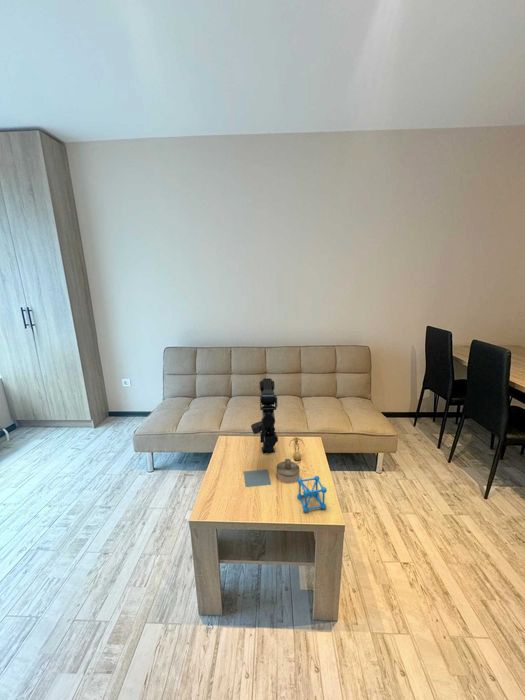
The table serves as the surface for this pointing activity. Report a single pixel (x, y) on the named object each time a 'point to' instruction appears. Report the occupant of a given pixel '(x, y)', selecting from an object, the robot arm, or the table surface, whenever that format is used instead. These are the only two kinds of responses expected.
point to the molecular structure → (311, 493)
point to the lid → (287, 468)
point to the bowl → (288, 478)
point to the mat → (257, 478)
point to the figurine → (296, 454)
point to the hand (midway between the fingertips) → (268, 446)
